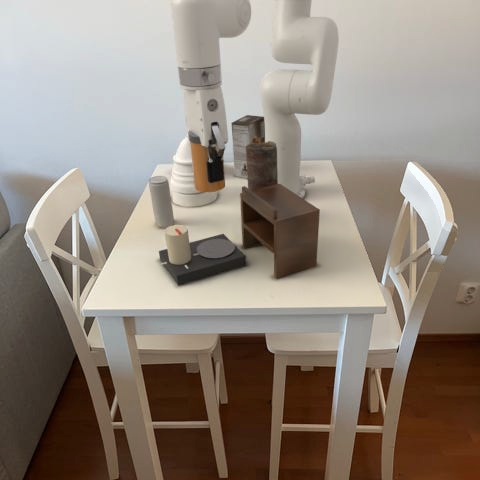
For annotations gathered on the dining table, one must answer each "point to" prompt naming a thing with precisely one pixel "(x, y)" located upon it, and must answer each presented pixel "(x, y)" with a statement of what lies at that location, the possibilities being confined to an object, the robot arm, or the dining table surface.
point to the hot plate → (202, 263)
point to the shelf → (281, 227)
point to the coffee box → (246, 140)
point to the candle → (261, 165)
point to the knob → (178, 244)
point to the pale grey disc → (216, 248)
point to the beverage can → (161, 201)
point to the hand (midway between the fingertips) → (209, 174)
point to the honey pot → (186, 180)
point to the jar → (202, 165)
